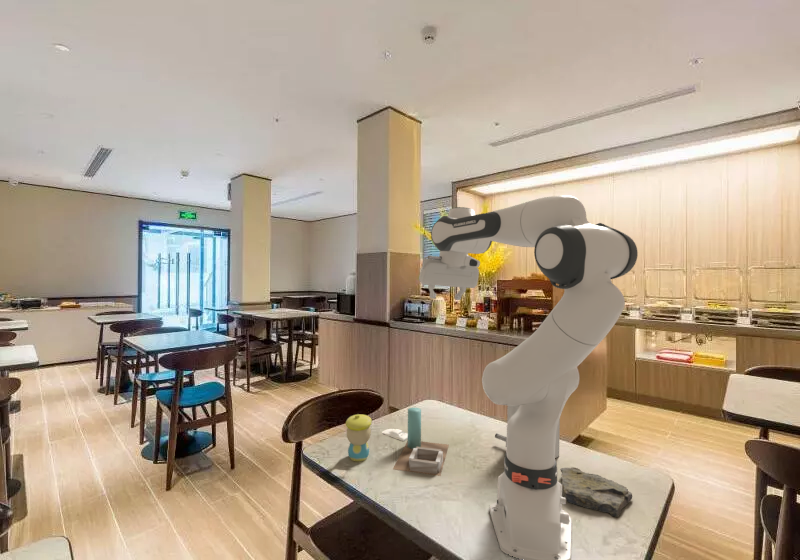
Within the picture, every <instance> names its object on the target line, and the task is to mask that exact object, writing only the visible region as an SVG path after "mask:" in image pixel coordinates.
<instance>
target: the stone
mask: <svg viewBox="0 0 800 560" xmlns="http://www.w3.org/2000/svg"><path fill="white" fill-rule="evenodd" d="M559 470H560V472H561V485H562V492H563V495H564V498H566V502H568V503H570V504H573V505H577V506H580V507H583V508H586V509H589V510H596V511H599V512H602V513H608V514H610V515H611V517H615V518H618V517H619V516H621V512H622V510H623V508H625V507H627V505H628V504H629V503H630V502H631V501H632V500H633V493H632V492H631V491H629V490H628V488H627V487H626V486H624V485H622V484H619V483H618V482H615V481H614V480H611V479H608V478H606V477H603V476H601V475H599V474H595V473H589V472H585V471H582V470H581V469H580V468H578V467H575V466H573V467H562V468H560V469H559Z"/></svg>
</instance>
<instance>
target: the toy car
mask: <svg viewBox="0 0 800 560" xmlns="http://www.w3.org/2000/svg"><path fill="white" fill-rule="evenodd" d="M380 433H382V434H383V435H385V436H388V437H391V438H393V439H396V440H399V441H401V442H405V441H408V432H405V431H404V430H401V429H399V428H396V429H394V428H387V429H385V430H382V431H381V432H380Z"/></svg>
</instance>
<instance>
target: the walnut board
mask: <svg viewBox="0 0 800 560" xmlns="http://www.w3.org/2000/svg"><path fill="white" fill-rule="evenodd" d="M406 441H407V442H406V443H405V445H404V447H403V449H402V451H401V453H400V455H399V456H398V458H397V460H396V462H395V464H394V465H393V468H392V470H394V471H403V472H409V473H416V474H423V475H431V476H438V477H441V476H442V471H443V468H444V465H445V462H446V458H447V455H448V449H449V446H450V444H447V443H446V444H445V443H439V442H430V441H429V442H428V441H422V440H421V447H416V448H414V449H410V448H409V447H408V440H406Z"/></svg>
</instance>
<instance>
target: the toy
mask: <svg viewBox="0 0 800 560" xmlns="http://www.w3.org/2000/svg"><path fill="white" fill-rule="evenodd" d="M372 421H373V420H372V418H371V417H370V416H369V415H367V414H359V413H357V414H353V415H350V416H349V417H348V418H347V419H346V421H345V426H346V428H347V429H346V438H347V440H348V442H349V445H348V447H347V448H348V449H347V454H348V457H349V459H350V460H351V461H354V462H363V461H366V460H367V458H368V456H369V455H370V447H369V444H368V442H369V440H370V438H371V434H372V433H371V432H372V429H371V428H372V427H371V425H372Z"/></svg>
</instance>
